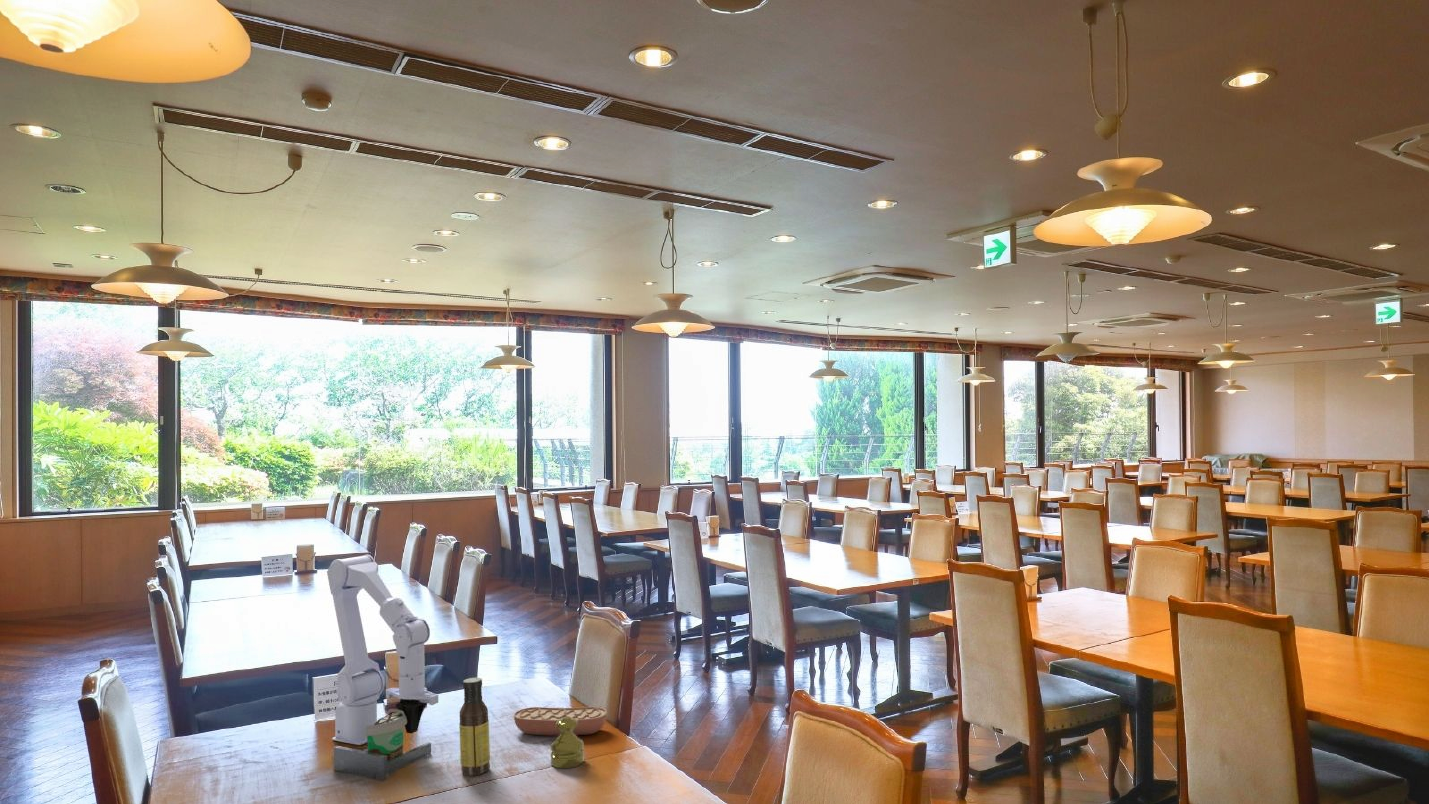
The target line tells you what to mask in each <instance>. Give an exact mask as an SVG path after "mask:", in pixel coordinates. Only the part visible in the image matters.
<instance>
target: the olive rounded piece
mask: <svg viewBox="0 0 1429 804" xmlns="http://www.w3.org/2000/svg"><path fill="white" fill-rule="evenodd" d="M577 725H578V721H577V720H576V719H574V718H571V717H568V716H567V717H563V718H562V719H560V720H558V721H557V722H556V727H558V728H559V729H560V730H561V734H560V735H559V736H557V737H556V739H554V740H552V742H550V751H551V753H550V764H551V766H553V768H554V767H555V768H556V769H571V768H576V767H579V766H580V765H582V763H584V761H585V759H584V756H585V751H584V750H583V748H584V745H585V743H584V742H585V741H584V740H583V739H582V738H580V737H578V736H579V735H575V734H574V733H573V729H574V728H575V727H576V726H577Z"/></svg>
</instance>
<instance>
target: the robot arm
mask: <svg viewBox="0 0 1429 804" xmlns="http://www.w3.org/2000/svg"><path fill="white" fill-rule="evenodd" d="M378 573H379V565H378V563H377V562H376V561H375V559H374V558H373V556H372V555H370V554H364V555H360V556H353V557H348V558H341V559H340V558H338V559H337V558H336V559H334V560H333V561H332V562H330V565H329V567H328V569H327V571H326V574H327V581H328V585H329V590H330V591H329V592H330V594H331V596H332V600H333V605H334V610H335V614H336V621H337V626H338V632H339V636H340V643H341V646H342V652H343V656H344V659H343V660H344V663H345V665H344V666H343V667H342V668H341V669H340V671H339V672H338V673H337V675H336V679H337V686H336V687H337V688H336V694H337V698H338V700H339V701H340V702H339V704H338V705H337V707H336V710H335V715H334V716H335V718H334V719H335V720H334V723H335V725H334V728H335V729H334V733H335V734H334V737H332V740H333V741H334V742H335V741H337V742H341V743H344V744H345V743H347V744H349V745H350V744H352V745H357V746H361V745H365V744H367V743H368V741H367V736H366V729H367V725H374V724H375V723H376V722H377V721H378V702H377V701H378V700H379V699H380V695H381V694H382V692H384V689H385V677H384V675H383V673H382V672H381V670H380V666H379V663H378V662H376V661H374V660H373V659H371V658H370V657H369V654H368V648H367V643H366V637H365V634H364V633H365V632H364V627H363V623H362V618H361V617H362V616H361V612H360V607H359V601H358V598H357V597H358V595H359V593H360V591H361V590H362V589H363V590H364V591H365V592H366V593H367V594H368V595H369V596H370V597H371V598H372V599H373V601H374V602H375V603H376V604H377V605H378V606H379V607H380V608H379V615H380V617H381V618H382V620H384V622H385V623H386V625H387V626H388V627H389V628H390V630H391V631H392V633H393V634H392V641H393V643H394V645H395V649H396V655H397V656H398V687H390V688H387V689H385V698H386V699H391V698H392V699H398V700H399V702H397V703H395V709H397V710H401V711H403V712H404V714H405V715H406V719H407V724H406V725H405V726H404V729H405V732H406V734H414V733H416V732H418V730H419V725H420V721H421V718H422V715H423V712H424V710H425V708H426V706H427V705H428V704H429V706H434V705H436V704H438V703H439V694H437V693H433V692H432V691H428V688H427V687H426V686H425V681H426V680H425V677H426V676H425V675H426V674H425V672H426V671H425V663H426V661H425V643H427V642H428V640H429V639H430V635H431V630H430V627H429V624H428V623H427V620H425V619H424V618H419V617H418V616H415V615H414V614H413V613H412V611H411V610H410V609H409V608H408V606H407V605H406V603H405V602H404V600H403V599H401V598H399V597H393V595H392V594H391V592H390V590H389V589H388V587H387V586H386V585H385V582H383V580H382V578H381V576H380V575H379V574H378ZM361 672H363V673H361ZM357 673H358V674H357ZM355 674H356V675H355Z"/></svg>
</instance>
